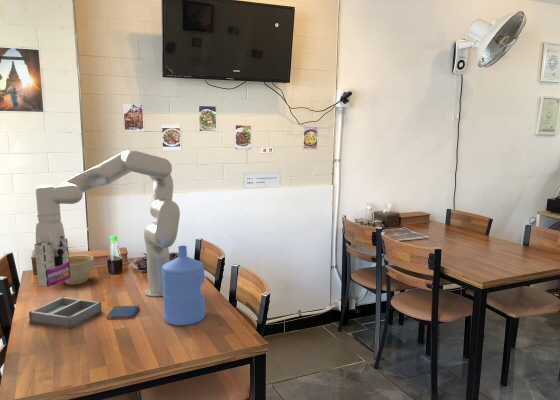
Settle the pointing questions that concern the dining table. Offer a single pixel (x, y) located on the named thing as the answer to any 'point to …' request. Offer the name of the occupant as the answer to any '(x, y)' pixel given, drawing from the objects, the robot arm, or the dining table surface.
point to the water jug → (183, 290)
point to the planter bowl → (79, 269)
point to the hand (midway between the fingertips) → (53, 264)
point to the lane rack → (65, 312)
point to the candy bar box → (50, 265)
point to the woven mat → (123, 312)
